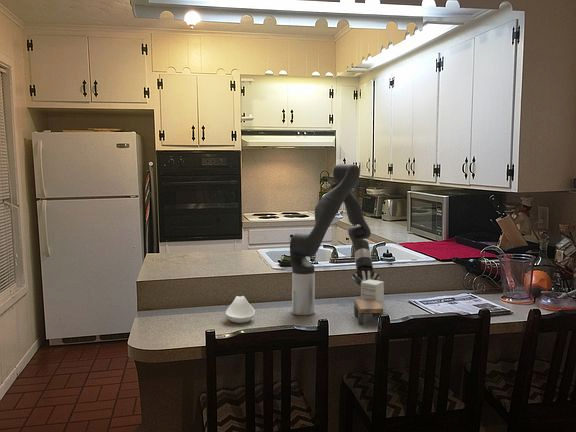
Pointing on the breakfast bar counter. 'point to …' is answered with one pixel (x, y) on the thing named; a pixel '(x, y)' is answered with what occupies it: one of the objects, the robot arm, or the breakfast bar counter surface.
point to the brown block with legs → (367, 308)
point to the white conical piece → (240, 310)
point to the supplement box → (373, 291)
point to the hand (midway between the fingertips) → (368, 293)
